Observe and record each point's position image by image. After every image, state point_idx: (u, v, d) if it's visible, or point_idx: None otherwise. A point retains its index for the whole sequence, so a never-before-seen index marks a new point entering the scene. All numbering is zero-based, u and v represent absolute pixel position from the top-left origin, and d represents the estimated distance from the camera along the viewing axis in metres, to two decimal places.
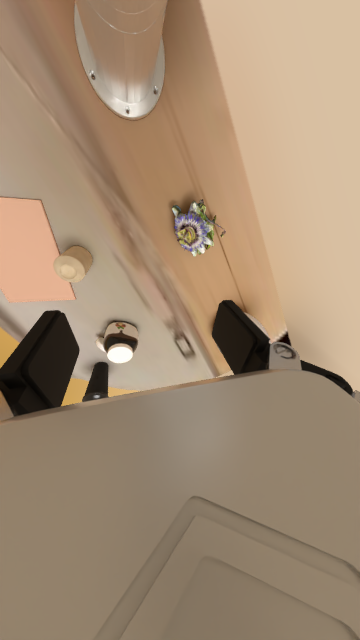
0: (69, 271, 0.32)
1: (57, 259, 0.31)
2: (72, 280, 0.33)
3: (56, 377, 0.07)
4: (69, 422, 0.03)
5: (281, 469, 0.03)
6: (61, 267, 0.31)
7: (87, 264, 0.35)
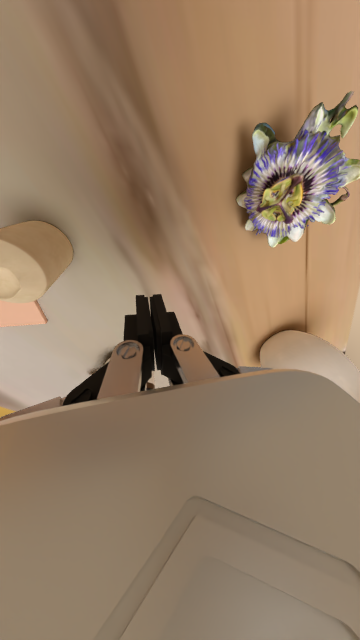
0: (0, 277, 0.12)
1: None
2: (14, 300, 0.13)
3: None
4: (68, 423, 0.03)
5: (281, 469, 0.03)
6: None
7: (56, 260, 0.16)
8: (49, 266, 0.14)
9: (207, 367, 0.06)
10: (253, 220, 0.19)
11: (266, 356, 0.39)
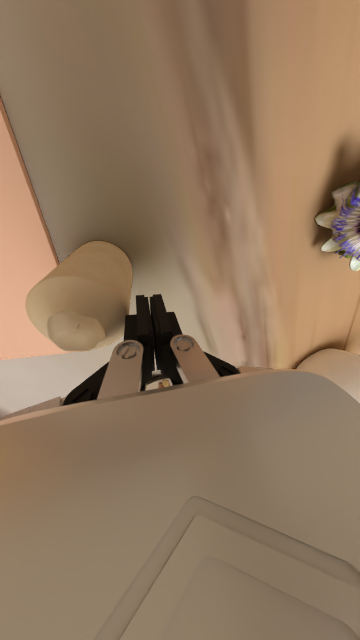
0: (80, 325, 0.10)
1: (38, 291, 0.08)
2: None
3: None
4: (68, 423, 0.03)
5: (281, 469, 0.03)
6: (53, 317, 0.09)
7: (129, 293, 0.13)
8: (128, 304, 0.11)
9: (207, 367, 0.06)
10: (342, 242, 0.17)
11: None
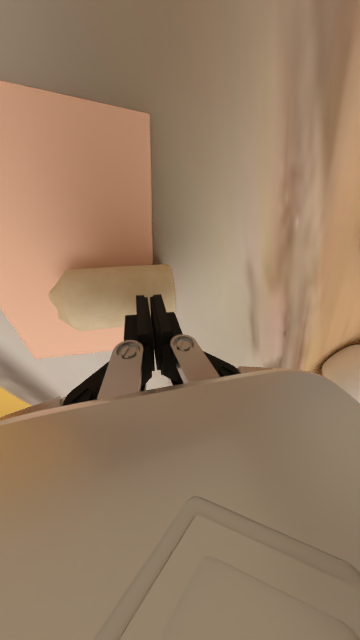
0: None
1: None
2: None
3: None
4: (68, 423, 0.03)
5: (281, 469, 0.03)
6: None
7: (111, 322, 0.13)
8: (90, 324, 0.13)
9: (207, 367, 0.06)
10: None
11: (338, 372, 0.38)
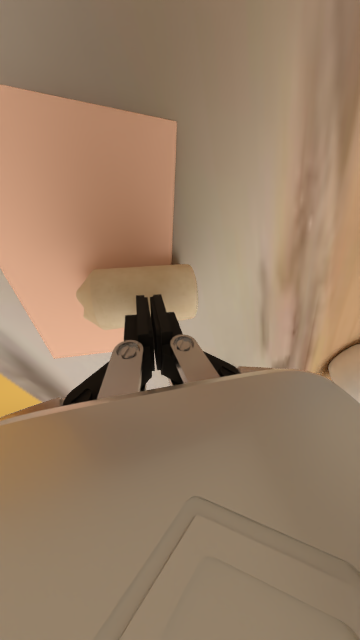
0: None
1: None
2: None
3: None
4: (69, 423, 0.03)
5: (281, 469, 0.03)
6: None
7: None
8: (115, 322, 0.13)
9: (207, 367, 0.06)
10: None
11: (345, 370, 0.39)
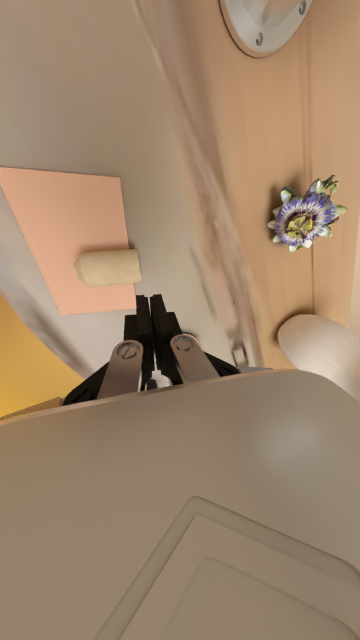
0: None
1: None
2: None
3: None
4: (68, 423, 0.03)
5: (281, 469, 0.03)
6: None
7: (105, 279, 0.25)
8: (94, 280, 0.25)
9: (207, 367, 0.06)
10: (280, 236, 0.31)
11: (284, 335, 0.50)
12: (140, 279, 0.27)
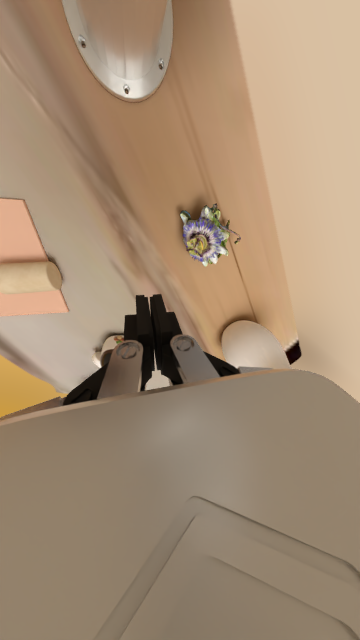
0: None
1: None
2: None
3: None
4: (69, 423, 0.03)
5: (281, 469, 0.03)
6: None
7: (16, 288, 0.29)
8: (5, 288, 0.28)
9: (207, 367, 0.06)
10: (190, 253, 0.34)
11: (223, 339, 0.54)
12: (53, 288, 0.31)
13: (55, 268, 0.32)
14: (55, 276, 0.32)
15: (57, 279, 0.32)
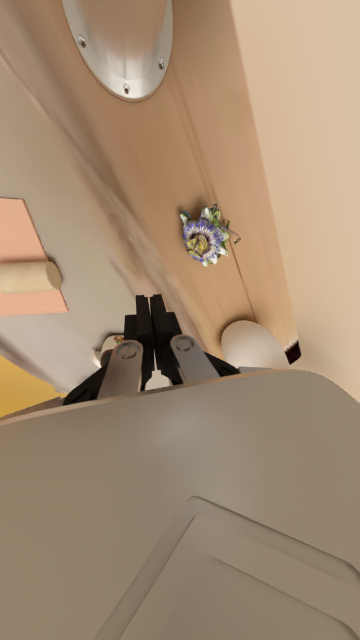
0: None
1: None
2: None
3: None
4: (69, 423, 0.03)
5: (281, 469, 0.03)
6: None
7: (16, 287, 0.29)
8: (4, 288, 0.28)
9: (207, 367, 0.06)
10: (190, 253, 0.34)
11: (223, 339, 0.54)
12: (52, 288, 0.31)
13: (55, 267, 0.32)
14: (55, 276, 0.32)
15: (57, 279, 0.32)
